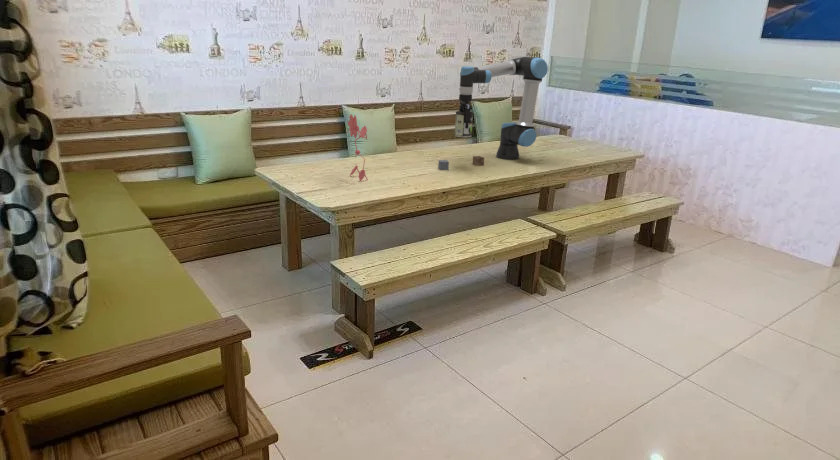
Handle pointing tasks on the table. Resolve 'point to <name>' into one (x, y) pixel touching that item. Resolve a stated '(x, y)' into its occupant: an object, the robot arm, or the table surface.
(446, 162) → the blue-gray block
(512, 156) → the robot arm
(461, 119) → the coffee can
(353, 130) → the red plant
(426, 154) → the table surface
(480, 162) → the walnut block
